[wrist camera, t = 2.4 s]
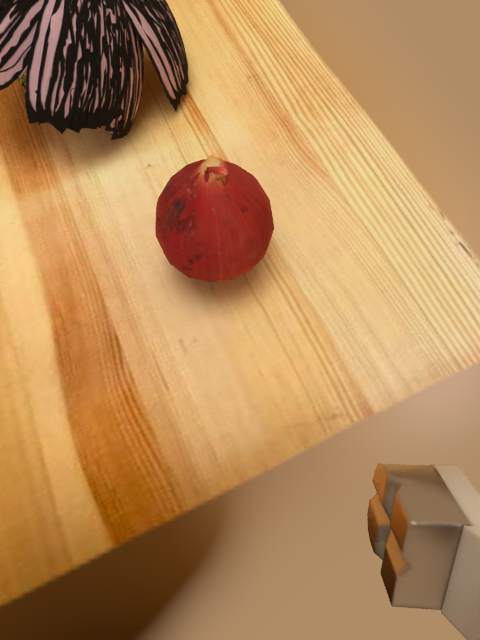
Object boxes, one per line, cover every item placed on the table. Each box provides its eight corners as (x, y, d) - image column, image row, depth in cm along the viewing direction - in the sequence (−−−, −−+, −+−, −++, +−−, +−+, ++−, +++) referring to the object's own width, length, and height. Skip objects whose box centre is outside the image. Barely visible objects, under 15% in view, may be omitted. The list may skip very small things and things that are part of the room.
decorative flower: (98, 54, 18) (-211, -190, 18) (73, 225, 28) (-129, 71, 27) (257, -24, 27) (53, -192, 26) (196, 128, 36) (45, 8, 36)
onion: (192, 323, 24) (172, 242, 17) (151, 242, 26) (117, 139, 19) (286, 280, 25) (305, 186, 18) (240, 205, 27) (239, 93, 20)
